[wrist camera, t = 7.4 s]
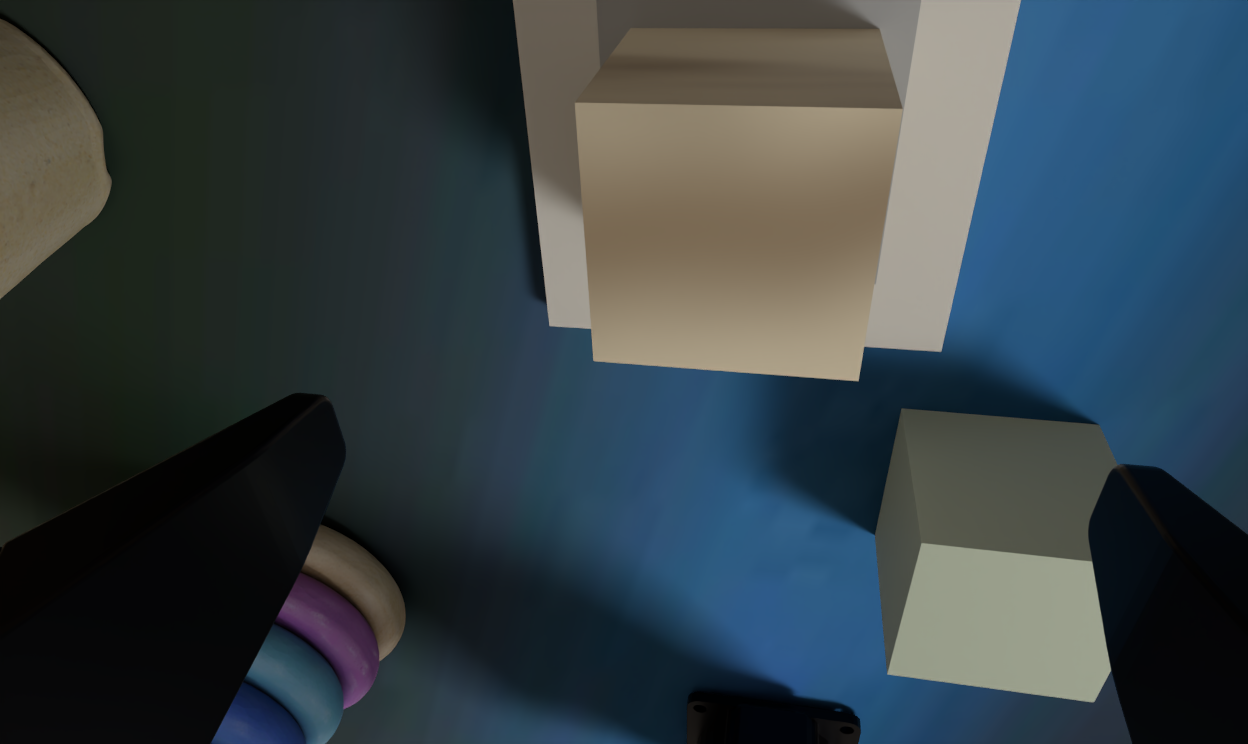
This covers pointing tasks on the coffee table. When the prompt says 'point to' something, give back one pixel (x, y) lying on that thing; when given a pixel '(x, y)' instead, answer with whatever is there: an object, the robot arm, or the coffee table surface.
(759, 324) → the block birch
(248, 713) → the stacking toy
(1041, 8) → the coffee table surface
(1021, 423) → the block sage
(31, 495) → the coffee table surface
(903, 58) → the plate
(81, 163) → the flower pot
